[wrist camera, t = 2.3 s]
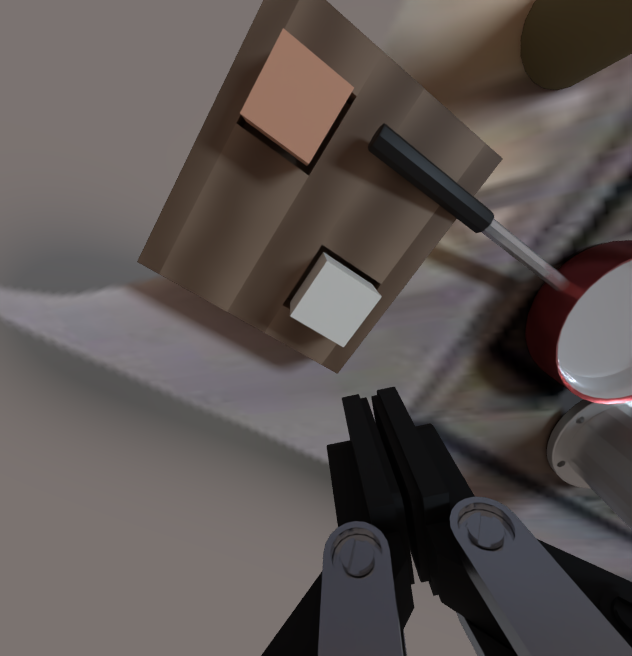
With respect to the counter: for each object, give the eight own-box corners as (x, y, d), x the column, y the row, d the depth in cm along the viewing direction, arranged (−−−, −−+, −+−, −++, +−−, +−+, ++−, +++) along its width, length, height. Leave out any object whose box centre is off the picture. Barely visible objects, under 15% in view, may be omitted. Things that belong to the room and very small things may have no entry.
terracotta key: (346, 99, 20) (354, 87, 18) (306, 165, 22) (308, 163, 19) (284, 49, 19) (283, 27, 17) (246, 122, 20) (239, 113, 18)
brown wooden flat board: (472, 161, 25) (502, 158, 22) (331, 350, 31) (337, 373, 27) (283, -1, 21) (282, -39, 17) (158, 250, 26) (137, 261, 23)
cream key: (372, 284, 25) (381, 296, 22) (338, 330, 26) (343, 347, 23) (323, 251, 24) (327, 260, 21) (290, 301, 25) (290, 316, 22)
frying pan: (303, 260, 28) (306, 282, 22) (384, 83, 23) (416, 51, 17) (596, 395, 35) (658, 438, 29) (700, 278, 30) (797, 301, 25)
